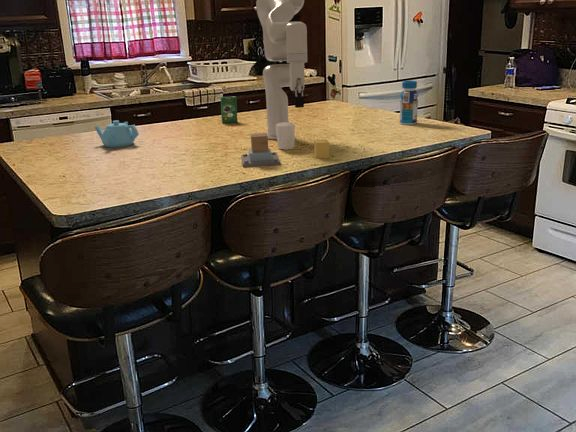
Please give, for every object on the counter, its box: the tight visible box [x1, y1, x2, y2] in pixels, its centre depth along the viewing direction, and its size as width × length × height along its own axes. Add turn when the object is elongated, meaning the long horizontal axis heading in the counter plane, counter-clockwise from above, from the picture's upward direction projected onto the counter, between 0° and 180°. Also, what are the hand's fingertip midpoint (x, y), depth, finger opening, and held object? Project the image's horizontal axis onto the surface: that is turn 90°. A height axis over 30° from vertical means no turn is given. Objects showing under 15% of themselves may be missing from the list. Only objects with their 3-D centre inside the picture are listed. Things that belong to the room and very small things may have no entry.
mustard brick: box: [313, 139, 330, 159], centre depth 234 cm, size 5×5×6 cm
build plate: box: [240, 147, 281, 168], centre depth 231 cm, size 14×14×4 cm
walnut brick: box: [250, 132, 269, 153], centre depth 229 cm, size 6×6×6 cm
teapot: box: [94, 120, 139, 149], centre depth 267 cm, size 15×15×11 cm
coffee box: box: [220, 95, 238, 124], centre depth 309 cm, size 8×3×13 cm, turn 103°
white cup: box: [276, 122, 296, 151], centre depth 250 cm, size 8×8×10 cm
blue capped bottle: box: [399, 79, 419, 126], centre depth 288 cm, size 8×8×20 cm
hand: (298, 105), depth 227 cm, fingers open, 9 cm apart
